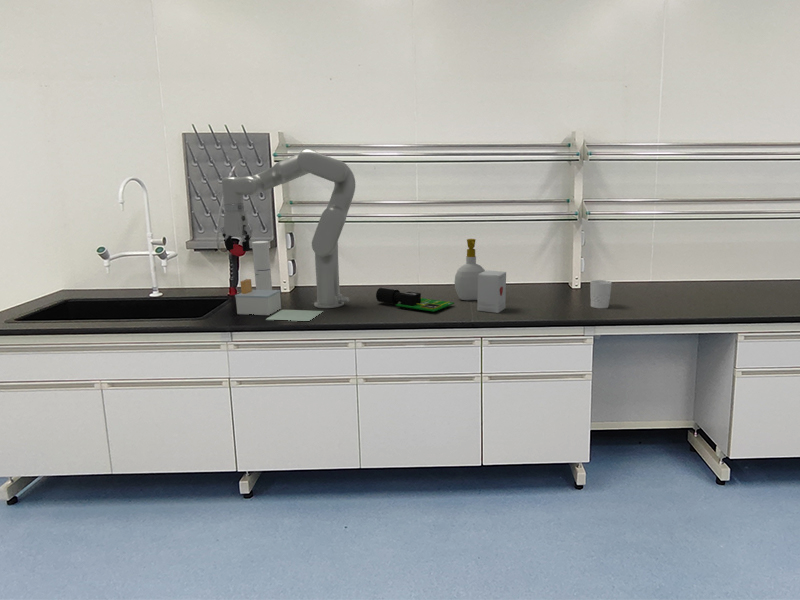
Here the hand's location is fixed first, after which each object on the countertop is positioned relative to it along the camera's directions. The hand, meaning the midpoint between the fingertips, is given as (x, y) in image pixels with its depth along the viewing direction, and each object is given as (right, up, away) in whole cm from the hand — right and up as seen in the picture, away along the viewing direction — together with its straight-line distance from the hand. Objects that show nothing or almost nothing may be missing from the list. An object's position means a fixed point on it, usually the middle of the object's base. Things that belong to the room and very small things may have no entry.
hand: (238, 250), depth 228 cm
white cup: (+146, -23, -7) cm, 148 cm away
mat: (+25, -27, -9) cm, 38 cm away
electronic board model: (+72, -23, +2) cm, 76 cm away
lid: (+9, -20, -2) cm, 22 cm away
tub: (+9, -25, 0) cm, 27 cm away
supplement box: (+103, -25, -7) cm, 106 cm away
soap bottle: (+97, -21, +10) cm, 100 cm away
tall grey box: (+4, -19, +27) cm, 33 cm away
